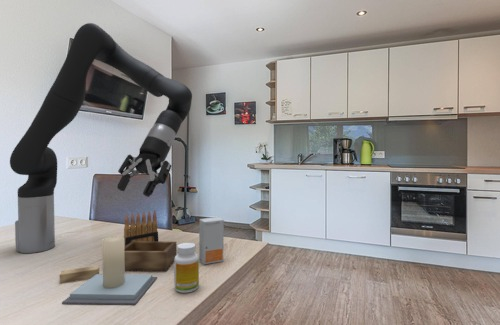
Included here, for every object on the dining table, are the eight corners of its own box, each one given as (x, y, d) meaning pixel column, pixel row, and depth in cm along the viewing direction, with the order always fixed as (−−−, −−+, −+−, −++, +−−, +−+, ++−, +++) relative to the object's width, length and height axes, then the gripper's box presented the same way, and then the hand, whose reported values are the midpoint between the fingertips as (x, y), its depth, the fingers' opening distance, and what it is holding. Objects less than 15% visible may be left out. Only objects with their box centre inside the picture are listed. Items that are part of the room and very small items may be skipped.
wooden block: (59, 284, 65) (59, 274, 65) (62, 280, 67) (61, 270, 67) (98, 278, 68) (98, 269, 68) (99, 274, 70) (99, 265, 70)
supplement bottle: (202, 289, 62) (202, 246, 62) (179, 296, 59) (178, 251, 59) (193, 280, 66) (193, 240, 66) (171, 286, 63) (171, 244, 63)
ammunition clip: (125, 254, 84) (124, 215, 84) (123, 252, 85) (122, 214, 85) (158, 246, 91) (158, 210, 91) (156, 245, 92) (156, 209, 92)
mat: (61, 304, 56) (61, 302, 56) (96, 277, 68) (96, 276, 68) (135, 305, 55) (135, 303, 55) (156, 278, 67) (156, 276, 67)
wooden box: (116, 271, 72) (116, 252, 71) (132, 258, 81) (132, 241, 80) (166, 271, 71) (166, 252, 71) (176, 258, 80) (176, 241, 80)
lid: (69, 298, 57) (68, 246, 57) (96, 278, 67) (96, 233, 66) (134, 299, 57) (133, 246, 56) (152, 278, 66) (151, 233, 66)
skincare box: (203, 265, 75) (203, 222, 75) (199, 260, 79) (198, 218, 79) (224, 261, 78) (224, 219, 78) (218, 256, 82) (218, 216, 81)
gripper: (131, 132, 80) (103, 182, 73) (173, 138, 75) (147, 191, 68) (145, 146, 86) (120, 193, 79) (184, 152, 82) (161, 202, 75)
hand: (132, 192), depth 74 cm, fingers open, 8 cm apart
